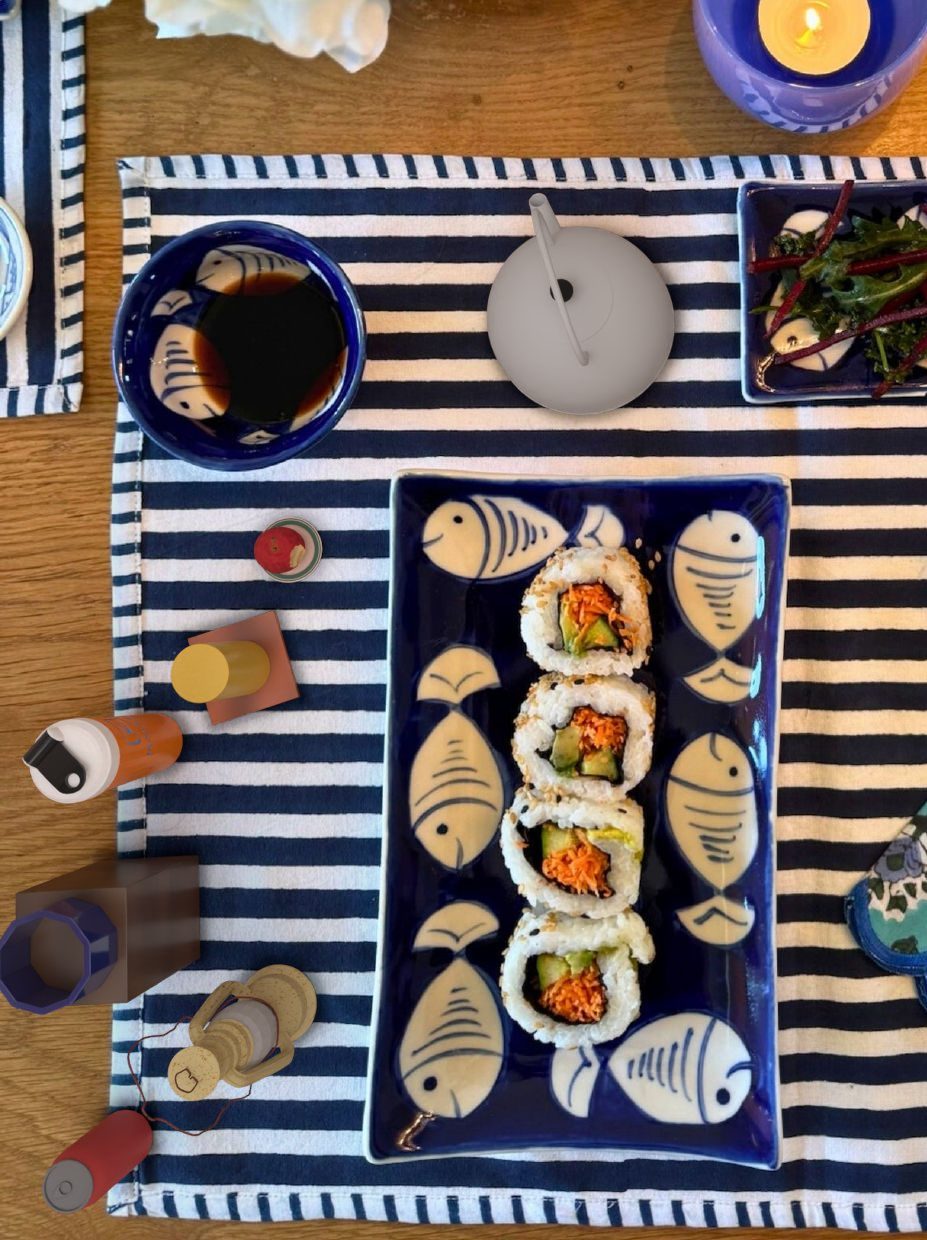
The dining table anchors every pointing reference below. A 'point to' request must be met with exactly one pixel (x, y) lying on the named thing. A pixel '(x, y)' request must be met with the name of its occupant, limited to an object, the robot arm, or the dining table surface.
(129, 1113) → the beer can
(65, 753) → the shaker bottle
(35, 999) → the blue faceted ring
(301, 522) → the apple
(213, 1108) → the dining table surface
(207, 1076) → the lantern
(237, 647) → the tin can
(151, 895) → the stand
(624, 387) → the kettle
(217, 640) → the coaster
